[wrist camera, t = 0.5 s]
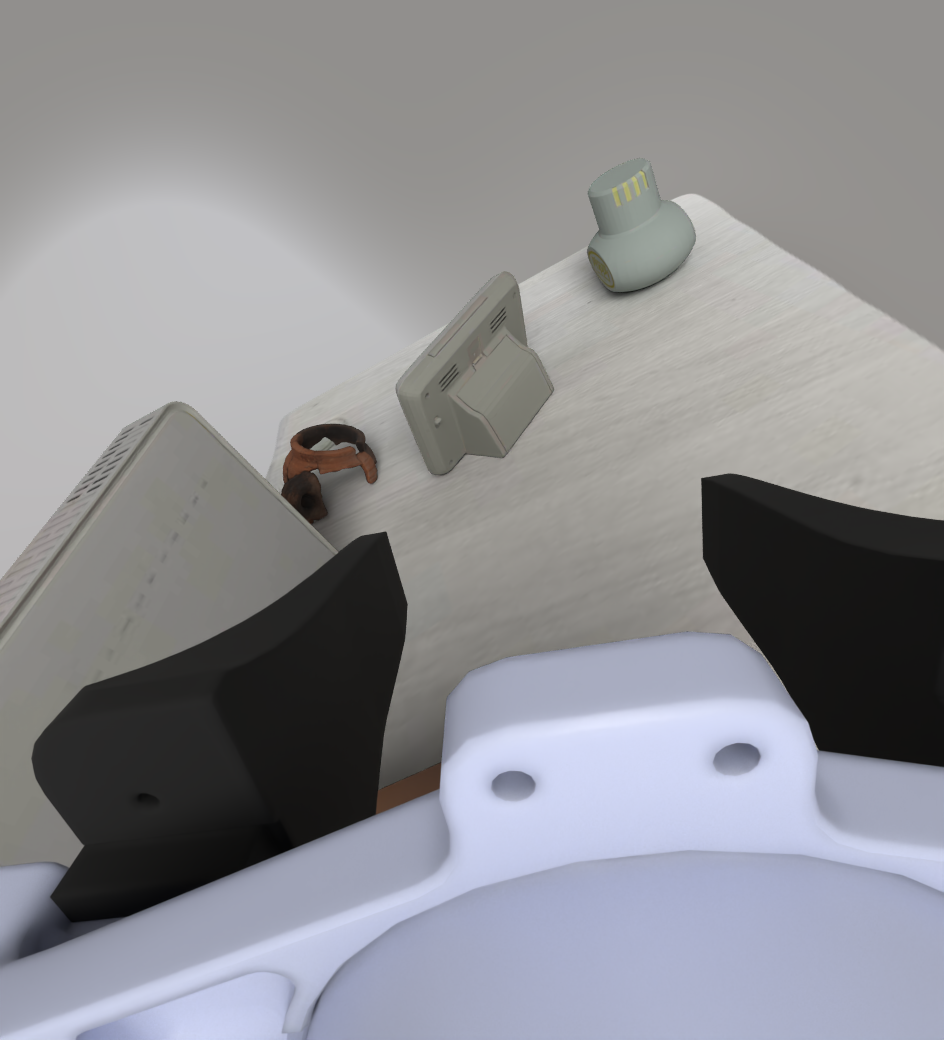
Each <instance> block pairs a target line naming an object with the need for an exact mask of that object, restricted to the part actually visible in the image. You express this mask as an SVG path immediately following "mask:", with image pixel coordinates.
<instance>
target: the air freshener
mask: <svg viewBox="0 0 944 1040" xmlns="http://www.w3.org/2000/svg"><path fill="white" fill-rule="evenodd" d="M588 196H589V199H590V202H591V205H592V208H593V211H594V215H595V218H596V221H597V224H598V226H599V231H598V232H597V233H596V235H595V236H594V237H593V239H592V241H591V242H590V244H589V246H588V249H587V254H588V258H589V261H590V263H591V265H592V267H593V269H594V271H595V273H596V275H597V276H598V278H599V279H600V281H601V282H602V283H603V284H604V285H605V287H607V288H608V289H609V290H610V291H614V292H627V291H635V290H639V289H642V288H645V287H648V286H651V285H653V284H655V283H657V282H659V281H660V280H662V279H664V278H665V277H667V276H668V275H669V274H671V273H672V272H673V271H674V270H676V269H677V268H678V267H679V266H680V265H681V264H682V263H683V261H684V260H685V259H686V258H687V256H688V255H689V253H690V252H691V250H692V248H693V246H694V244H695V241H696V234H695V230H694V227H693V224H692V222H691V220H690V218H689V217H688V215H687V214H686V213H685V211H684V210H683V209H682V208H681V207H680V206H679V205H677V204H676V203H674V202H672V201H668V200H660V196H659V193H658V189H657V185H656V181H655V178H654V174H653V171H652V167H651V163H650V161H648V160H646V159H643V158H639V159H634V160H630V161H627V162H625V163H622V164H620V165H618V166H616V167H614V168H612V169H610V170H609V171H607V172H605V173H604V174H602V175H601V176H600V177H598V178H597V179H596V180H595V181H594V182H593V183H592V184H591V186H590V188H589V191H588Z"/></svg>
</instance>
